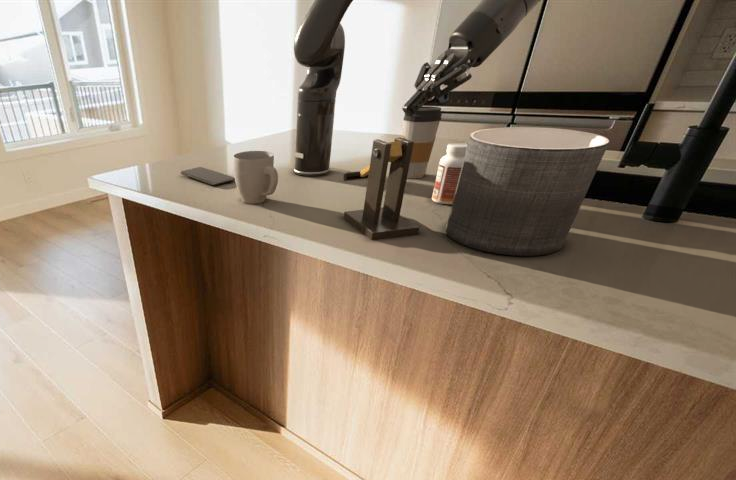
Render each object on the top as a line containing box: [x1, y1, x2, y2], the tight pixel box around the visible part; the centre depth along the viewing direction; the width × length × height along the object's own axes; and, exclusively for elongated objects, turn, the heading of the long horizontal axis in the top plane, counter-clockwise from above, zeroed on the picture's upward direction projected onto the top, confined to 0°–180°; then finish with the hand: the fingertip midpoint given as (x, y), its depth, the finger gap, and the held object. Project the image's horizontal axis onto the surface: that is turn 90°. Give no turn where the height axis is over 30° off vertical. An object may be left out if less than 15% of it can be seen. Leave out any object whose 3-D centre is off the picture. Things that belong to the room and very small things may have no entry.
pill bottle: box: [431, 142, 468, 206], centre depth 87 cm, size 6×6×11 cm
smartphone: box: [180, 166, 235, 186], centre depth 114 cm, size 7×1×16 cm
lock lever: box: [342, 141, 402, 182], centre depth 78 cm, size 14×7×2 cm, turn 10°
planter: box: [445, 126, 610, 257], centre depth 69 cm, size 18×18×16 cm
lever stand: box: [343, 136, 421, 241], centre depth 76 cm, size 12×9×15 cm
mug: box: [232, 150, 279, 205], centre depth 93 cm, size 12×9×10 cm
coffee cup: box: [401, 105, 443, 179], centre depth 103 cm, size 8×8×15 cm
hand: (406, 112), depth 79 cm, fingers closed
